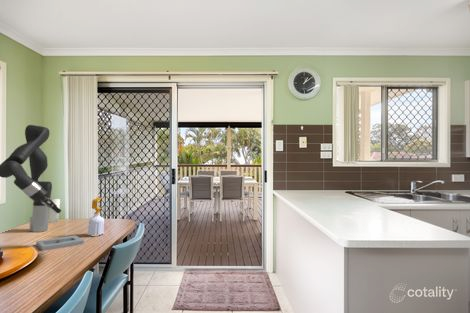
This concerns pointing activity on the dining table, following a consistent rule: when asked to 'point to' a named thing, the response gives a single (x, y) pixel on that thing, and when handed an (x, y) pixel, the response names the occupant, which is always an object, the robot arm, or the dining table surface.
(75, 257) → the dining table surface
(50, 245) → the rectangular recess board
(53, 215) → the cream rounded cylinder
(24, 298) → the dining table surface
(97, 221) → the soap bottle
